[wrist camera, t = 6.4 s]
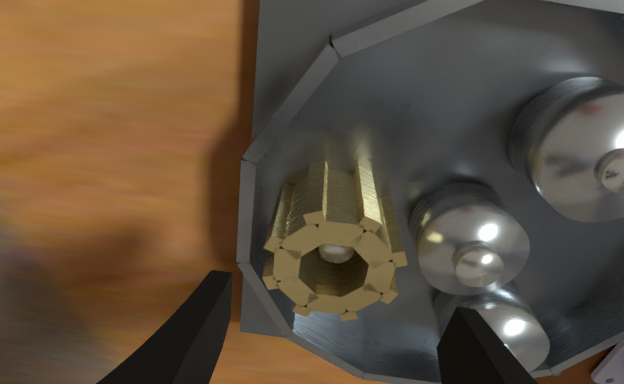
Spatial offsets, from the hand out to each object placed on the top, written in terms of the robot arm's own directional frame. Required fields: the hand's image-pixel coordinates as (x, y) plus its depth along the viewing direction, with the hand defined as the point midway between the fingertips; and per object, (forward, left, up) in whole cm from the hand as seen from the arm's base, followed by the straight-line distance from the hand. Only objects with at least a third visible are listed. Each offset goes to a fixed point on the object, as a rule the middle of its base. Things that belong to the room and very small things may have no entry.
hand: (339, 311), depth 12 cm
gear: (0, 0, -6) cm, 6 cm away
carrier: (-6, 0, -8) cm, 10 cm away
